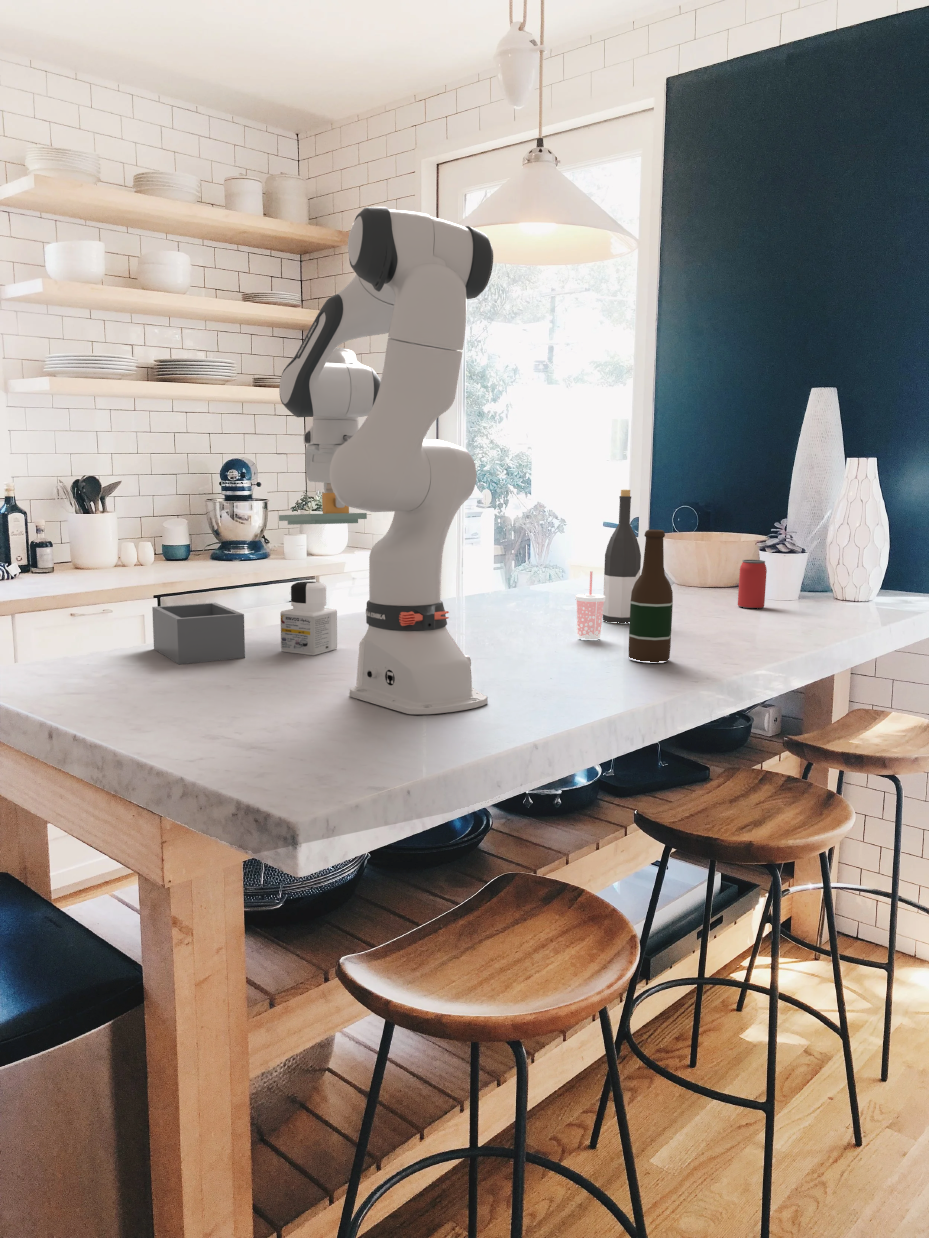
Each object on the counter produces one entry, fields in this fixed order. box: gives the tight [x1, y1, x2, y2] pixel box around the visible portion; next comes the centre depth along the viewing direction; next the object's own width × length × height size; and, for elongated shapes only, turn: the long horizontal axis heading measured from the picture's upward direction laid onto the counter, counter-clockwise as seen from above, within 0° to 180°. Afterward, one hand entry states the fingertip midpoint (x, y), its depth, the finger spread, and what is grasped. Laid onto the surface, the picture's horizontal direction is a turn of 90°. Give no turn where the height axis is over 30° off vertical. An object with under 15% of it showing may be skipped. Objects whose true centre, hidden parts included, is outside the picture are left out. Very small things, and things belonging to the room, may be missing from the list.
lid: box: [278, 492, 368, 526], centre depth 195 cm, size 16×12×6 cm
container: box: [280, 580, 338, 656], centre depth 181 cm, size 8×8×13 cm
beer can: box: [737, 559, 768, 610], centre depth 245 cm, size 7×7×12 cm
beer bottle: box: [628, 529, 674, 662], centre depth 176 cm, size 8×8×24 cm
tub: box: [151, 602, 246, 665], centre depth 177 cm, size 16×12×8 cm
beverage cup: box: [574, 571, 606, 639], centre depth 197 cm, size 6×6×14 cm
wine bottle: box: [602, 489, 642, 623], centre depth 219 cm, size 8×8×30 cm
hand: (335, 507), depth 189 cm, fingers closed on lid
